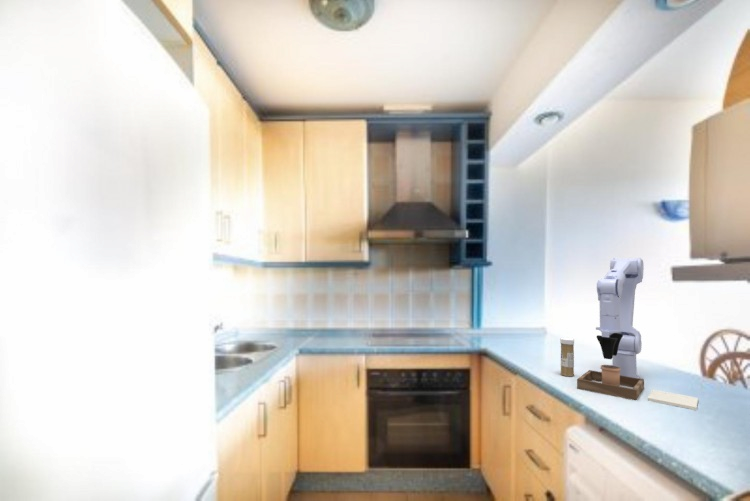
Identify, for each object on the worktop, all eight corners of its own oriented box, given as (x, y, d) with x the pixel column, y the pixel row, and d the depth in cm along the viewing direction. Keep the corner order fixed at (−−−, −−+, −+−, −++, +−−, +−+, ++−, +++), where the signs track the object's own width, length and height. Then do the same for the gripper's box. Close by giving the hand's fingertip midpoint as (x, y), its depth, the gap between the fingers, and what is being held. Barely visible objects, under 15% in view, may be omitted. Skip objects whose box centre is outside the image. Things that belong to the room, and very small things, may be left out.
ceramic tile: (652, 392, 120) (652, 389, 120) (698, 400, 113) (697, 397, 113) (647, 400, 112) (647, 397, 112) (696, 410, 105) (696, 407, 105)
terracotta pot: (602, 384, 127) (602, 363, 127) (622, 388, 123) (622, 367, 124) (599, 388, 123) (598, 366, 123) (619, 392, 119) (618, 370, 120)
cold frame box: (589, 378, 134) (589, 370, 135) (644, 388, 124) (644, 379, 124) (577, 388, 123) (577, 379, 123) (636, 400, 112) (636, 390, 112)
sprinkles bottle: (557, 373, 140) (557, 337, 141) (569, 373, 141) (569, 337, 142) (565, 377, 136) (564, 339, 137) (577, 376, 136) (576, 339, 137)
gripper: (600, 312, 132) (601, 351, 132) (590, 315, 122) (591, 358, 121) (624, 314, 128) (625, 355, 127) (616, 317, 117) (616, 362, 116)
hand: (610, 356), depth 124 cm, fingers open, 7 cm apart
